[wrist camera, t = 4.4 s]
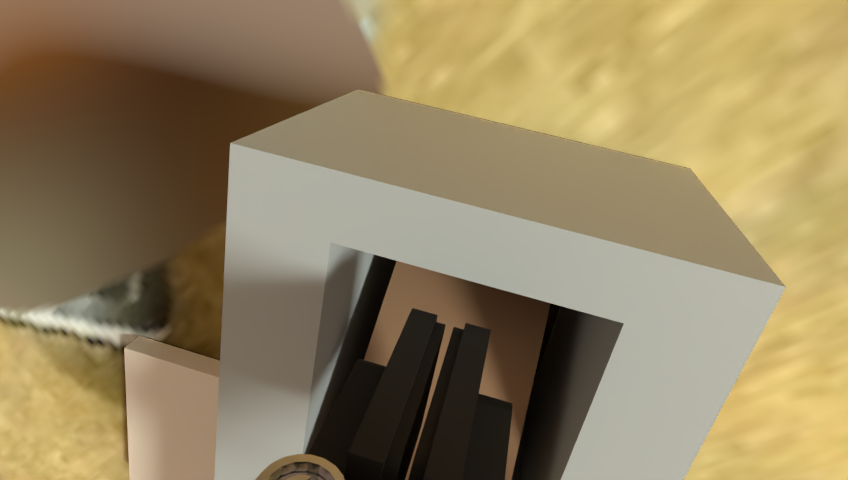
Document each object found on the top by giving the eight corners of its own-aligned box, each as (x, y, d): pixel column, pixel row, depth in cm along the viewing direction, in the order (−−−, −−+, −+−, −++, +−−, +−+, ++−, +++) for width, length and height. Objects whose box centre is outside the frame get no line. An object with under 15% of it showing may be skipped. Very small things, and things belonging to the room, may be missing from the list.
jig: (358, 89, 19) (229, 142, 12) (690, 168, 18) (785, 286, 10) (296, 531, 28) (203, 719, 21) (512, 605, 27) (495, 835, 19)
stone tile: (139, 335, 25) (124, 347, 24) (305, 387, 24) (295, 401, 24) (142, 464, 29) (129, 479, 28) (289, 514, 28) (280, 531, 27)
